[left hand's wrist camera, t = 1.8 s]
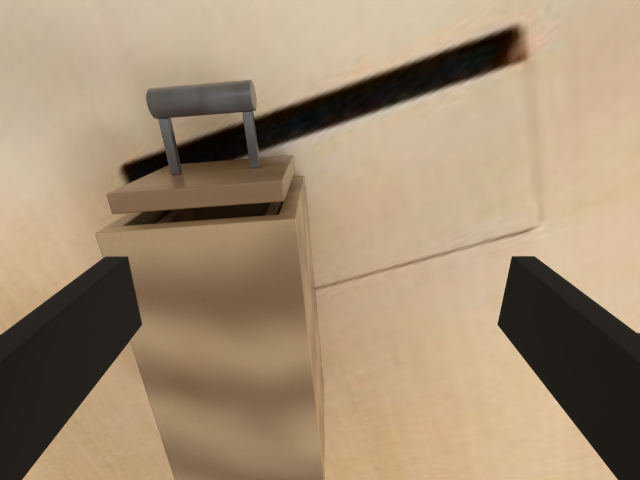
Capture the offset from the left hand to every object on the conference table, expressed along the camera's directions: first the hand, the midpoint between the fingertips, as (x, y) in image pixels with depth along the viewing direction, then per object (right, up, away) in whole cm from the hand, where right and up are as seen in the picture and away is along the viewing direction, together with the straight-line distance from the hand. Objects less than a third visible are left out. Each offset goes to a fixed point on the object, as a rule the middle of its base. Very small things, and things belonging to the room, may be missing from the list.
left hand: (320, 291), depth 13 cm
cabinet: (-6, -4, +21) cm, 22 cm away
